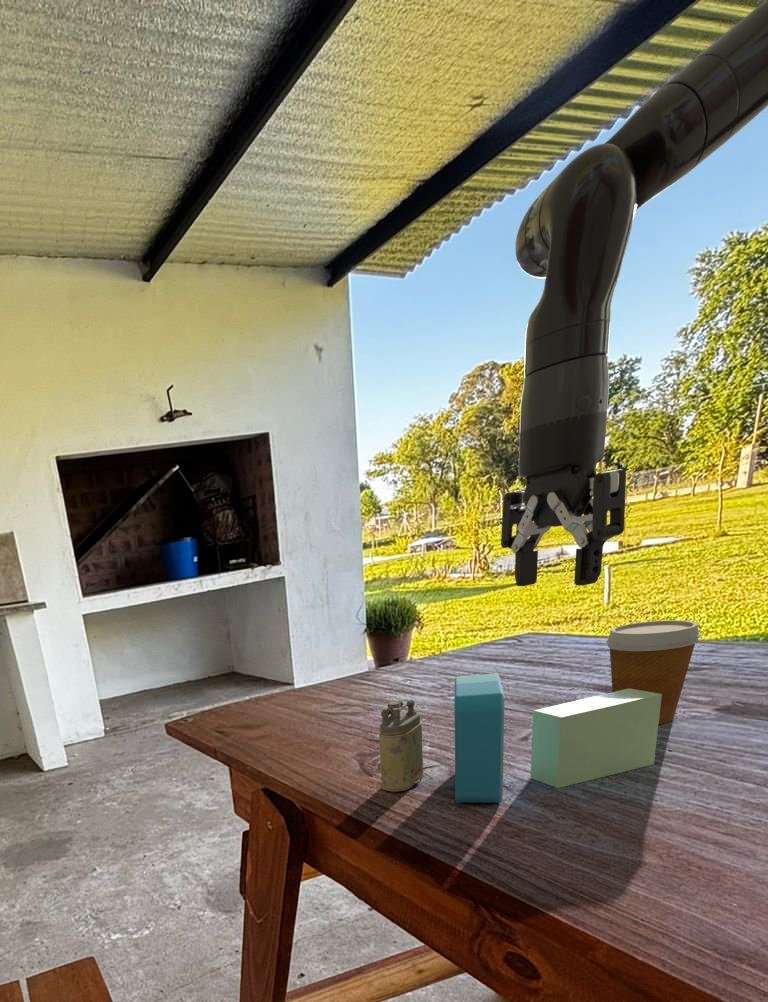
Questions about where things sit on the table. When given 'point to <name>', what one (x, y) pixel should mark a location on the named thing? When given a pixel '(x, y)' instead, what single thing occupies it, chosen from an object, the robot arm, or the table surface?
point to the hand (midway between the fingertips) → (554, 584)
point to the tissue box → (594, 737)
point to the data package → (479, 739)
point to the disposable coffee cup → (653, 659)
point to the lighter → (400, 747)
